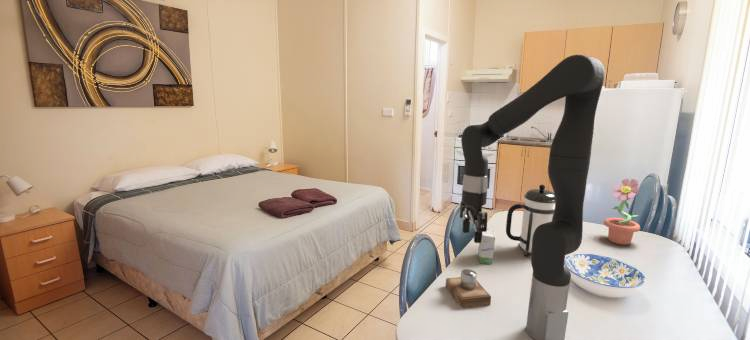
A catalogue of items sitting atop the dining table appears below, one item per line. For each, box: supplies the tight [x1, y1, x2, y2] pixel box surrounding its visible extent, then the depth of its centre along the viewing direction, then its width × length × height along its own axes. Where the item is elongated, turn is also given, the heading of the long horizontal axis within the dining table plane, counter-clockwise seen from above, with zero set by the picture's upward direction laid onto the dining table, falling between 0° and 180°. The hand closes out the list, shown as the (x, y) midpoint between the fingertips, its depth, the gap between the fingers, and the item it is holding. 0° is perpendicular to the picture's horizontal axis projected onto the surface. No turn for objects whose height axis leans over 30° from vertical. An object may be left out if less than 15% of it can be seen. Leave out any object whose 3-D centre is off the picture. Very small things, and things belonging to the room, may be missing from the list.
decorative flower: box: [603, 178, 641, 246], centre depth 164 cm, size 15×14×30 cm
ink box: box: [477, 228, 496, 265], centre depth 145 cm, size 9×5×12 cm, turn 168°
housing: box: [460, 268, 478, 291], centre depth 119 cm, size 5×5×5 cm
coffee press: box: [505, 184, 555, 257], centre depth 151 cm, size 17×16×30 cm
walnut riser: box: [445, 276, 492, 309], centre depth 120 cm, size 13×10×3 cm
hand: (471, 237), depth 116 cm, fingers open, 8 cm apart
